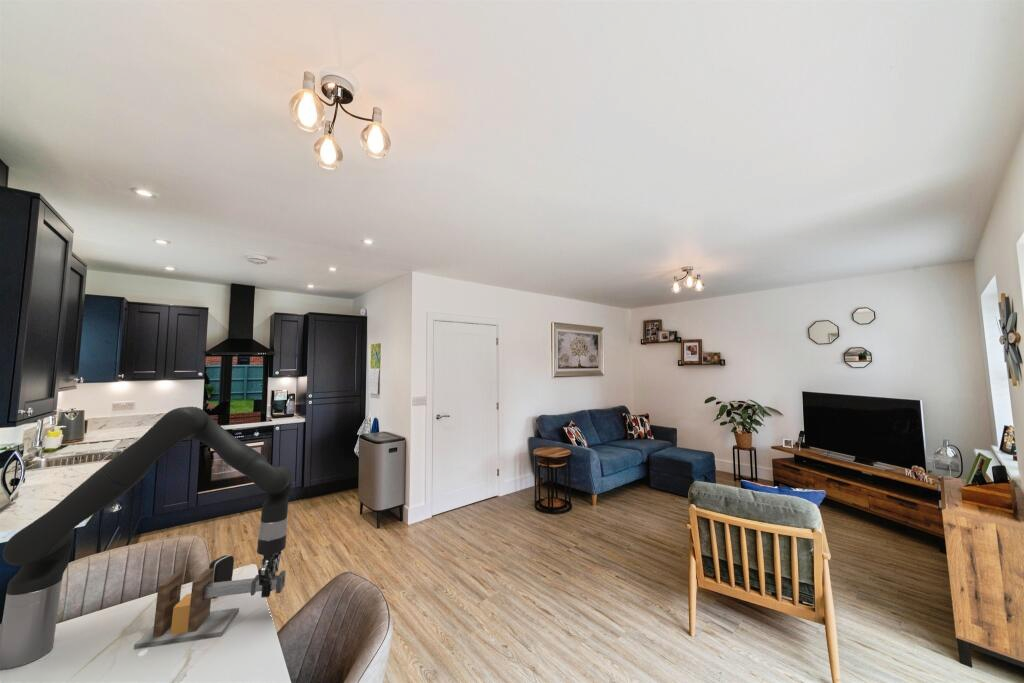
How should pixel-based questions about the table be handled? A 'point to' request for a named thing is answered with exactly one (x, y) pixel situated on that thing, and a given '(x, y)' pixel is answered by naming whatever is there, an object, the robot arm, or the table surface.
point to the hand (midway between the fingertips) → (267, 593)
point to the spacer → (181, 615)
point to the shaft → (242, 586)
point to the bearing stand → (200, 615)
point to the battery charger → (222, 569)
